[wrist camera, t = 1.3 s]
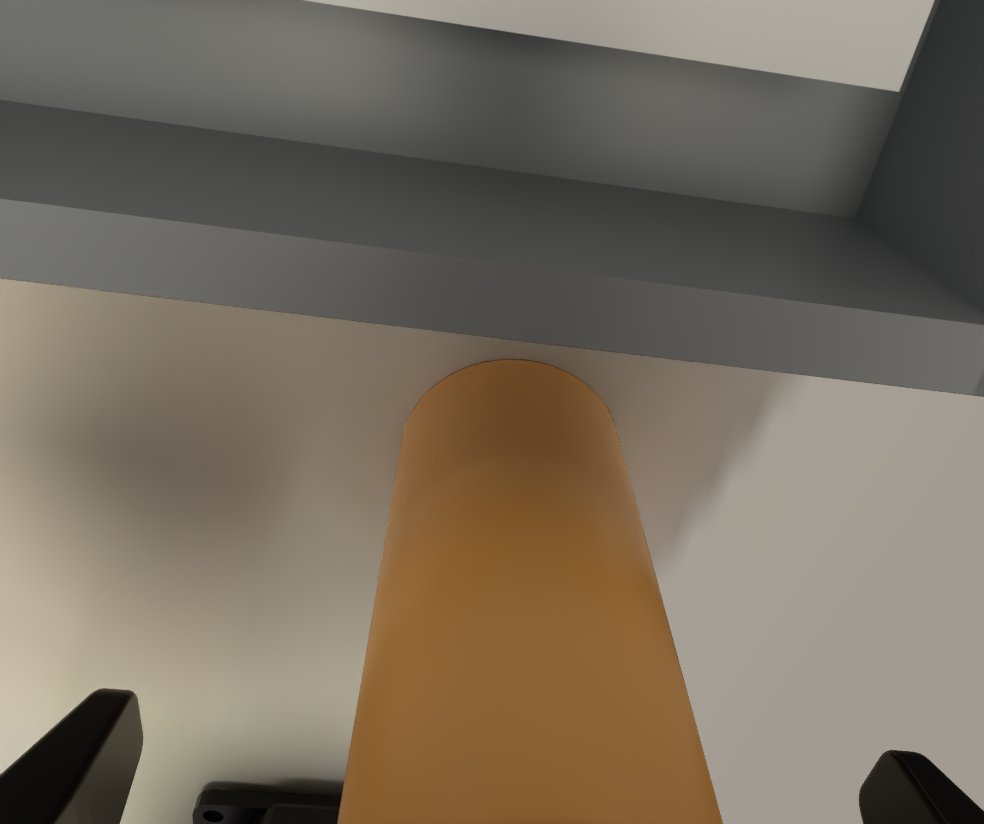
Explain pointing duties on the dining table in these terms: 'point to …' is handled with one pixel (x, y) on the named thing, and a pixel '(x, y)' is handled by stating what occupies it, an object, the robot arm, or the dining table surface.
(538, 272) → the inlet box
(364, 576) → the dining table surface
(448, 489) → the plug
